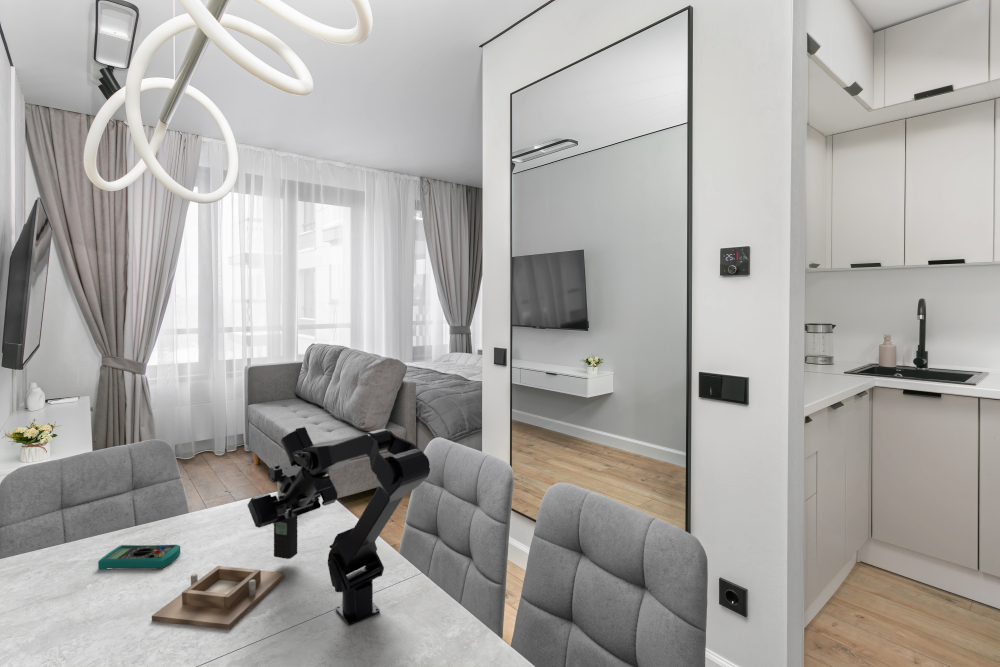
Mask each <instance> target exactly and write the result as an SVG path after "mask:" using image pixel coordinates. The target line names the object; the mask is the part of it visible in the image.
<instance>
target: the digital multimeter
mask: <svg viewBox="0 0 1000 667" xmlns="http://www.w3.org/2000/svg"><path fill="white" fill-rule="evenodd" d="M180 555H181V545H179V544H159V545H158V544H155V545H154V544H151V545H146V544H144V545H143V544H142V545H141V544H137V545H135V544H133V545H132V544H130V545H127V544H121V545H119V546H117V547H115V548H114V549H112V550H111V551H109V552H108V553H106V554H105V555H104V556H103V557H101V558H100V559H99V560H98V562H97V566H98V567H97V569H98V568H99V569H98V570H108V569H107V568H162V567H164V566H165V567H167V566H169V565H170V564H171V563H173V562H174V561H175V560H176V559H177V558H178V557H179V556H180ZM172 561H173V562H172ZM166 565H167V566H166ZM165 567H164V568H165ZM162 569H163V568H162Z"/></svg>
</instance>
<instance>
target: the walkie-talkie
mask: <svg viewBox="0 0 1000 667" xmlns="http://www.w3.org/2000/svg"><path fill="white" fill-rule="evenodd" d="M284 516H285V518H286V520H283V521H281V522H278V523H275V524H273V556H274V557H275V558H280V559H285V560H289V559H290V560H291V558H294V557H295V556H296V555H298V516H297V514H292V511H291V509H289V510H287V512H285V514H284Z"/></svg>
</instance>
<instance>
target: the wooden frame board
mask: <svg viewBox="0 0 1000 667" xmlns="http://www.w3.org/2000/svg"><path fill="white" fill-rule="evenodd" d="M285 573H286V572H282V571H281V572H280V571H270V570H261V569H252V568H243V567H232V566H223V565H217V566H216V567H214V568H213V569H211V571H209V572H208V573H206V574H205V575H204V576H202V577H201V578H200V579H199V578H198V573H194V574H191V575H190V586H189V587H187V588H186V589H184V590H183V591H182V592H181V593H180V594H179V595H178V596H177V597H175V598H173V599H172V600H171V601H170V602H169V603H167V604H166V605H164V606H162V608H160V609H159V610H157V611H156V612H154V613H153V614H152V615H151V622H160V623H166V624H167V623H168V624H174V625H175V624H176V625H184V626H185V625H186V626H195V627H203V628H210V629H211V628H212V629H219V630H220V629H222V630H228V631H229V630H230V629H231V628H232V627H234V626H235V625H236V623H238V622H239V621H240V620H241V619H242V618H243V617H244V616H246V614H247V613H248V612H249V611H250V610H251V609H253V607H255V606H256V605H257V604H258V603H259V602H260V601H261V600H262V599H263V598H264V597H265V596H266V595H267V594H268V593H269V592H270V591H271V590H273V589H274V588H275V587H276V586H277V585H278V584H280V582H281V581H282V580H283V579H284V578H285V576H286V575H285Z"/></svg>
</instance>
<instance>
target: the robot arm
mask: <svg viewBox="0 0 1000 667" xmlns="http://www.w3.org/2000/svg"><path fill="white" fill-rule="evenodd" d="M280 444H281V446H282V448H283V450H284V453H285V455H286V457H287V459H288V460H285V461H280V462H278V463H277V464H273V466H271V467H270V469H269V470H268V473H267V477H268V479H269V480H270V481H271V484H272V483H277V482H279V483H280V484H281V485H282V486H281V487H280V491H281V493H284V495H282V496H279V500H280V501H278V495H271V494H270V493H263V494H260V495H256V496H253V497H251V498H250V500H249V502H248V504H247V508H248V510H249V513H250V515H251V518H252V520H253V524H254V526H255V527H256V528H264V527H265V526H269V525H271V524H273V525H274V524H275V523H278V522H281V521H283V520H286V518H285V516H284V514H285V513H287V511H288V510H289V509H291V511H292V514H297V517H299V516H301V515H304V514H307V513H310V512H313V511H315V510H318V509H320V508H321V505H322V506H328V505H331V504H334V503H335V502H336V501H337V499H338V498H339V492H338V490H337V488H336V486H335V484H334V482H333V479H332V478H331V476H330V471H333V470H337V469H340V468H342V467H343V466H345V465H347V464H348V463H349V461H350V460H352V459H356V458H359V457H362V456H368V457H369V462H370V470H371V471H372V472H373V473H374V474H375V475H376V476H375V477H376V480H377V483H378V484H377V485H378V486H377V488H376V490H375V492H374V494H373V496H372V497H371V499H370V500H369V502H368V504H367V506H366V507H365V509H364V511H363V512H362V514H361V515H360V517H359V519H358V520H357V522H356V524H355V525H354V527H351V528H350V529H346V530H344V531H341V532H339V533H338V534H336V535H335V537H334V539H333V542H332V544H330V545H329V548H330V550H329V553H328V558H327V567H328V571H329V572H328V573H329V575H330V576H329V577H330V581H331V586H332V587H334V592H336V593H342V604H340V605H337V606H335V611H336V612H337V614H338V615H339V616H340V617H341V618H342V619H343V620H344V621H345V623H346V624H347V625H348V626H349V625H350V626H351V625H354V624H356V623H358V622H360V621H363V620H365V619H367V618H369V617H372V616H375V615H377V614H379V613H380V611H381V610H380V608H379V607H378V605H376V604H375V602H373V591H374V590H373V587H374V585H373V581H374V580H375V579H377V578H379V577H382V576H383V573H384V572H385V566H384V565H383V563H382V562H383V561H381V559H380V556H379V554H378V552H377V550H378V547H377V543H376V540H377V539H378V537H379V536H380V535H381V533H382V531H383V529H384V528H385V526H386V525H387V524H388V522H389V520H390V519H391V517H393V515H394V512H395V511H396V510H397V508H398V506H399V505H400V504H401V501H402V500H403V498H404V497H405V496H407V495H408V494H409V493H411V492H413V491H414V490H415V489H416V488H418V487H419V486H420V485H421V484H422V483H423V482H424V481H425V480H426V479H427V478H428V477H429V475H430V472H431V467H430V465H431V464H430V460H429V458H428V456H427V455H426V453H424V452H423V451H422V450H421V449H420V448H418V446H416V444H414V443H413V442H411V441H408V440H406V439H404V438H401V437H399V436H396V435H395V434H394V433H393V431H392V430H390V429H386V428H379V429H376V430H372V431H369V432H368V431H367V432H366V433H365V434H363V435H359V436H357V437H354V438H350V439H347V440H332V441H327V442H324V443H320V444H316V445H314V442H313V440H312V438H311V437H310V435H309V432H308V430H307V428H306V426H302V427H296V428H295V430H293V431H291V432H290V433H287V435H285V436H283V437H281V439H280ZM385 451H387V452H388V453H389V454H392V455H390V456H386V457H384V456H383V455H382V454H381V452H385ZM320 499H322V502H321V503H320Z"/></svg>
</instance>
